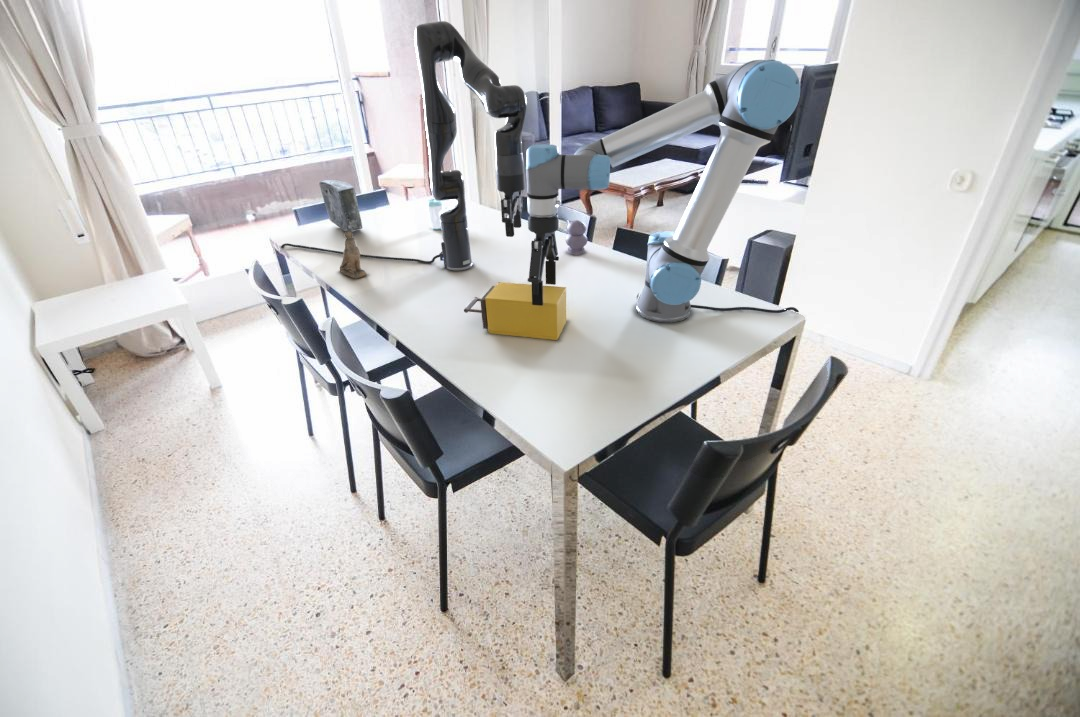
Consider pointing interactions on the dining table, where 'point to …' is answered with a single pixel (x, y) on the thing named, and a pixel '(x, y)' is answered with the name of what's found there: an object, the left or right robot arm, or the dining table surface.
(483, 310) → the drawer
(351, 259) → the brown carved statuette
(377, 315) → the dining table surface
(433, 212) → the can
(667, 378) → the dining table surface
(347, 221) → the concrete block
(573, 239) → the grey rounded figurine
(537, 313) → the yellow box
